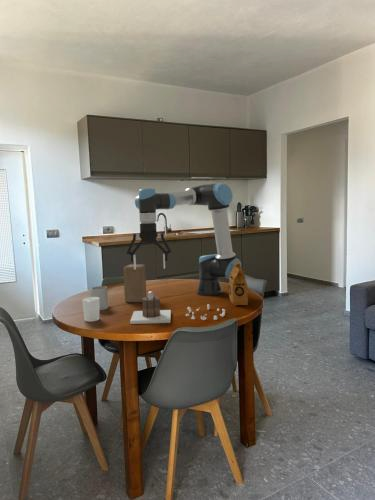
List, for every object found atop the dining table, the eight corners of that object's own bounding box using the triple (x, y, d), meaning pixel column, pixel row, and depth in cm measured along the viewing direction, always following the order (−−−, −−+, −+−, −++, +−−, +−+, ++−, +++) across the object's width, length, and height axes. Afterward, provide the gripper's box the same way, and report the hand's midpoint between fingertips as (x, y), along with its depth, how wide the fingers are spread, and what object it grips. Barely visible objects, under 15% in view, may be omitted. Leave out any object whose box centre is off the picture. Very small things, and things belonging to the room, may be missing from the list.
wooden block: (141, 302, 205) (140, 266, 203) (124, 302, 207) (122, 266, 205) (147, 298, 214) (145, 264, 212) (130, 298, 216) (129, 264, 214)
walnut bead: (160, 312, 179) (159, 296, 178) (159, 317, 171) (159, 300, 170) (143, 312, 179) (142, 296, 178) (142, 317, 171) (141, 300, 170)
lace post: (154, 314, 176) (153, 291, 175) (153, 315, 174) (152, 292, 173) (149, 314, 176) (148, 291, 175) (148, 315, 174) (147, 292, 173)
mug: (105, 310, 191) (104, 289, 189) (89, 310, 192) (87, 289, 190) (112, 304, 202) (111, 284, 201) (97, 304, 204) (96, 284, 202)
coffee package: (230, 306, 192) (229, 264, 190) (228, 300, 205) (227, 261, 202) (249, 306, 192) (249, 264, 190) (246, 300, 204) (246, 260, 202)
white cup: (85, 317, 179) (83, 297, 178) (101, 316, 179) (100, 296, 178) (81, 322, 171) (80, 301, 170) (99, 321, 172) (98, 300, 171)
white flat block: (170, 312, 183) (170, 309, 183) (170, 322, 167) (170, 319, 167) (134, 314, 183) (133, 311, 183) (130, 324, 167) (130, 320, 167)
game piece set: (177, 316, 179) (176, 308, 179) (205, 307, 193) (205, 300, 192) (206, 324, 165) (206, 315, 165) (235, 314, 179) (235, 306, 179)
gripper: (119, 223, 166) (121, 270, 168) (175, 222, 167) (176, 269, 169) (121, 223, 174) (123, 268, 176) (175, 221, 174) (176, 266, 177)
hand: (149, 268), depth 173 cm, fingers open, 13 cm apart
